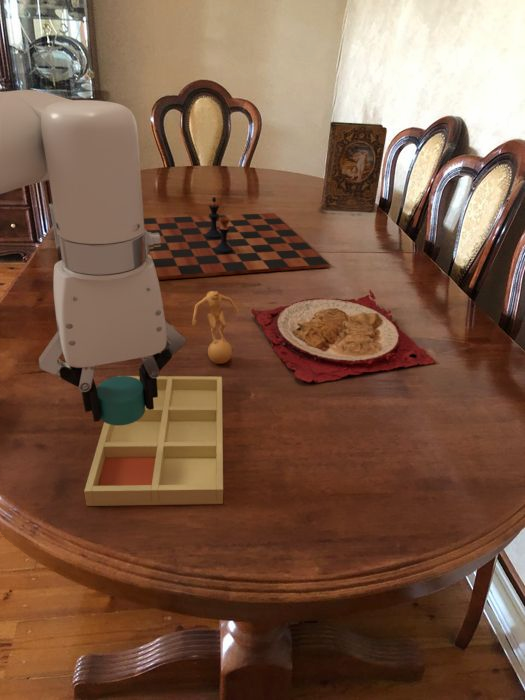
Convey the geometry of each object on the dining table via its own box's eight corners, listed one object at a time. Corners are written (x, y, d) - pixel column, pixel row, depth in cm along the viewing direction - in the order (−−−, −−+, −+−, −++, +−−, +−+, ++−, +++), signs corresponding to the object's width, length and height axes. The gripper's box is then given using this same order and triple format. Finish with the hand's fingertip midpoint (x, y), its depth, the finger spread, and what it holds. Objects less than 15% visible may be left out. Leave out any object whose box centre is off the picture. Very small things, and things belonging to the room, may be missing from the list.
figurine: (201, 373, 83) (201, 306, 77) (187, 355, 88) (185, 290, 82) (247, 362, 87) (250, 296, 81) (231, 345, 91) (233, 281, 85)
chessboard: (136, 222, 145) (133, 181, 139) (273, 216, 156) (276, 178, 150) (158, 281, 112) (156, 231, 107) (328, 268, 124) (334, 222, 118)
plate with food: (250, 318, 101) (250, 302, 99) (367, 301, 109) (370, 286, 107) (298, 389, 82) (300, 371, 80) (436, 363, 90) (441, 346, 88)
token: (94, 425, 55) (91, 403, 54) (103, 397, 60) (100, 375, 58) (142, 425, 56) (140, 402, 54) (147, 397, 60) (146, 375, 59)
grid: (86, 506, 59) (84, 491, 58) (118, 388, 79) (117, 375, 78) (222, 504, 61) (223, 489, 60) (221, 389, 80) (222, 376, 79)
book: (322, 210, 165) (332, 124, 152) (319, 205, 169) (329, 121, 156) (373, 212, 166) (387, 127, 153) (370, 207, 170) (383, 124, 157)
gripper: (182, 229, 54) (186, 375, 64) (1, 245, 48) (36, 405, 57) (205, 254, 48) (206, 411, 58) (3, 277, 42) (41, 448, 52)
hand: (121, 406), depth 57 cm, fingers closed on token, 5 cm apart
